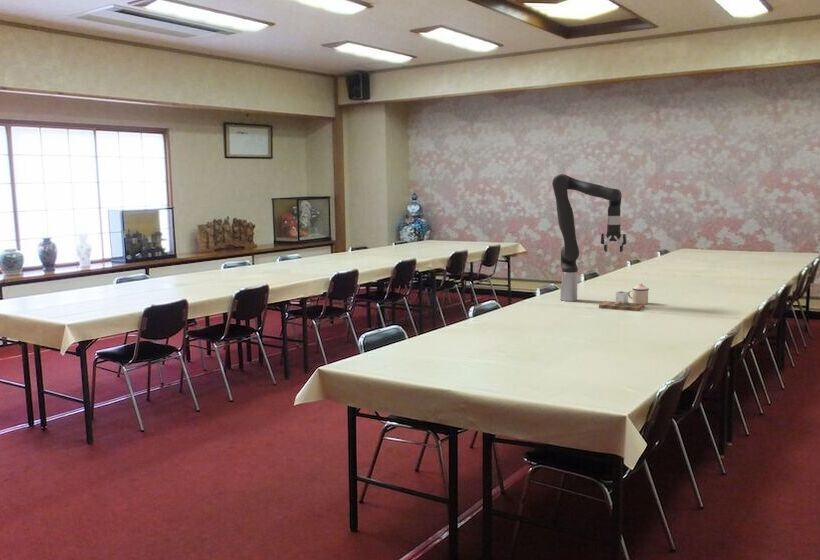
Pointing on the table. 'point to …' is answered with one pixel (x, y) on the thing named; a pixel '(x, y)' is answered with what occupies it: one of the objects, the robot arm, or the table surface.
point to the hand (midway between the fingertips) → (613, 251)
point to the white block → (621, 297)
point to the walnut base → (622, 306)
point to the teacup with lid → (639, 294)
